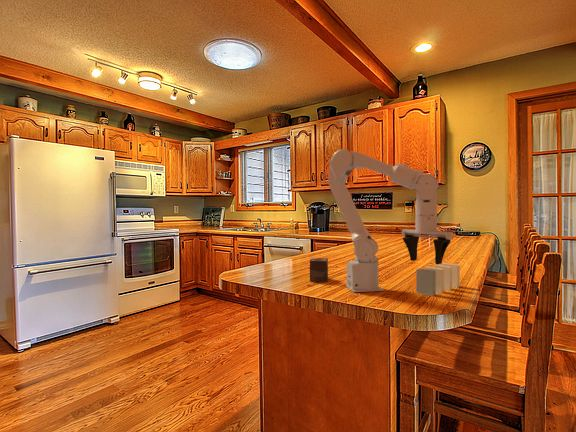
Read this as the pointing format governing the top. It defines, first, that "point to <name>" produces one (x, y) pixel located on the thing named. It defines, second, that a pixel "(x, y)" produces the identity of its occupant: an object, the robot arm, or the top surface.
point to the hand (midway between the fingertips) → (425, 262)
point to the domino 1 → (426, 282)
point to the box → (319, 269)
